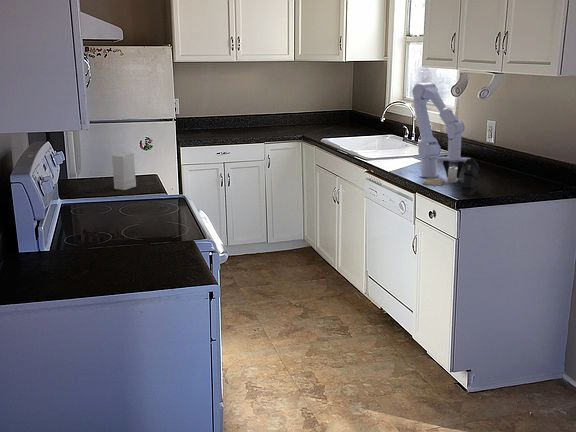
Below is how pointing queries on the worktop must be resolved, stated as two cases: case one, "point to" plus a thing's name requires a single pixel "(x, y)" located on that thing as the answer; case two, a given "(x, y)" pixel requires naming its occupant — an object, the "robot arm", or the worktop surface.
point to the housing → (452, 174)
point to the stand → (433, 181)
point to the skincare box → (124, 171)
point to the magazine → (470, 177)
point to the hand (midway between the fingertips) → (452, 177)
